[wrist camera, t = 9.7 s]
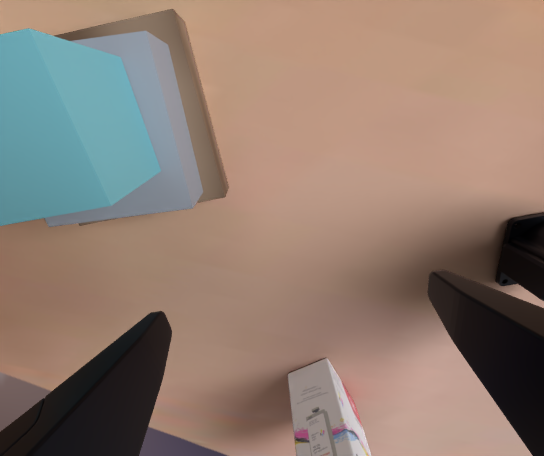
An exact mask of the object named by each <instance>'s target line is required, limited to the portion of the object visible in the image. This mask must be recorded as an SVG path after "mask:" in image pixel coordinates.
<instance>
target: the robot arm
mask: <svg viewBox="0 0 544 456" xmlns="http://www.w3.org/2000/svg"><path fill="white" fill-rule="evenodd" d="M496 282H497V283H498V284H499V285H501V286H507V285H513V284H519V285H521V286H522V287H524V288H525V289H526V290H528V291H529V292H531V293H532V294H534V295H535V296H537V297H538V298H539V299H541V300H542V301H544V213H541V214H535V215H529V216H524V217H518V218H514V219H511V220H510V221H509V222H508V224H507V228H506V233H505V238H504V243H503V247H502V252H501V257H500V262H499V266H498V271H497V276H496ZM428 297H429V299H430V301H431V303H432V305H433V307H434V308H435V310H436V312H437V314H438V316H439V317H440V319H441V321H442V323H443V325H444V326H445V328H446V330H447V332H448V334H449V335H450V337H451V339H452V340H453V342H454V343H455V345H456V346H457V348H458V349H459V351H460V352H461V354H462V355H463V357H464V358H465V359H466V361H467V362H468V364H469V365H470V367H471V368H472V369H473V371H474V372H475V374H476V375H477V377H478V378H479V379H480V381H481V382H482V384H483V385H484V387H485V388H486V390H487V391H488V392H489V394H490V395H491V397H492V398H493V400H494V401H495V402H496V404H497V405H498V407H499V408H500V410H501V411H502V412H503V414H504V415H505V417H506V418H507V420H508V421H509V422H510V424H511V425H512V427H513V428H514V430H515V431H516V432H517V434H518V435H519V437H520V438H521V440H522V441H523V442H524V444H525V445H526V447H527V448H528V450H529V451H530V452H531V454H532V455H533V456H544V308H542V307H539V306H536V305H534V304H531V303H529V302H526V301H523V300H521V299H518V298H516V297H513V296H511V295H508V294H505V293H503V292H500V291H498V290H495V289H492V288H490V287H487V286H485V285H482V284H480V283H477V282H474V281H472V280H469V279H467V278H464V277H462V276H459V275H456V274H454V273H451V272H449V271H446V270H438V271H432V272H430V274H429V281H428ZM171 337H172V330H171V327H170V324H169V322H168V320H167V317H166V315H165V313H164V312H162V311H158V312H152V313H150V314H148V315H147V316H146V317H144V318H143V319H142V320H141V321H139V322H138V323H137V324H136V325H134V326H133V327H132V328H131V329H129V330H128V331H127V332H126V333H124V334H123V335H122V336H121V337H119V338H118V339H117V340H116V341H114V342H113V343H112V344H111V345H109V346H108V347H107V348H106V349H104V350H103V351H102V352H101V353H99V354H98V355H97V356H96V357H94V358H93V359H92V360H91V361H89V362H88V363H87V364H86V365H84V366H83V367H82V368H81V369H79V370H78V371H77V372H76V373H74V374H73V375H72V376H70V377H69V378H68V379H67V380H65V381H64V382H63V383H62V384H60V385H59V386H58V387H57V388H55V389H54V390H53V391H52V392H50V394H48V395H47V396H46V397H45V398H43V399H42V400H40V401H39V402H38V403H37V404H35V405H34V406H33V407H32V408H30V409H29V410H28V411H27V412H25V413H24V414H23V415H22V416H20V417H19V418H18V419H16V420H15V421H14V422H12V423H11V424H10V425H9V426H7V427H6V428H5V429H3V430H2V431H1V432H0V456H139V454H140V450H141V447H142V444H143V441H144V437H145V434H146V431H147V428H148V425H149V422H150V418H151V415H152V412H153V409H154V406H155V402H156V399H157V396H158V393H159V390H160V386H161V383H162V379H163V375H164V371H165V366H166V361H167V356H168V351H169V346H170V342H171Z"/></svg>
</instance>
